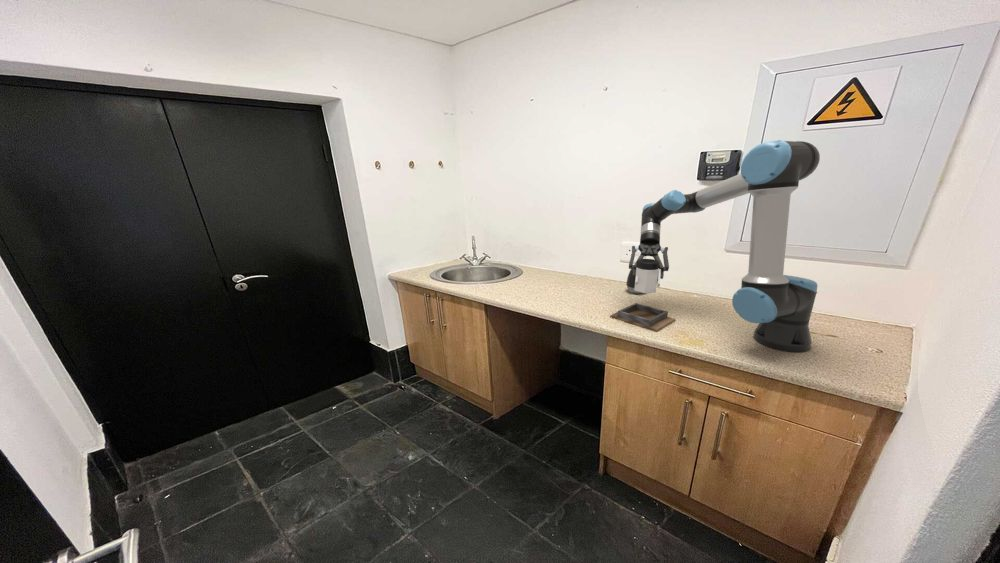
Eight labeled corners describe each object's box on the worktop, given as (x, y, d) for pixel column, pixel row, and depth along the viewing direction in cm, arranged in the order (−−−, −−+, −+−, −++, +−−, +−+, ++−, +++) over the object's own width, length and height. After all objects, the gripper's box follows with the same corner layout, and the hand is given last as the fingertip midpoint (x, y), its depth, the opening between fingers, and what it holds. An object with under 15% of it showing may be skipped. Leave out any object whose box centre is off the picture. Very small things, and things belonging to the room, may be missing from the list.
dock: (675, 321, 134) (676, 313, 133) (656, 332, 125) (657, 323, 124) (629, 308, 149) (630, 301, 148) (610, 317, 140) (610, 309, 139)
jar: (656, 294, 128) (659, 264, 124) (633, 292, 131) (636, 262, 128) (656, 287, 136) (659, 259, 132) (634, 285, 139) (637, 257, 135)
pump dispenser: (648, 295, 164) (651, 266, 160) (625, 294, 168) (628, 265, 163) (646, 289, 173) (649, 261, 169) (625, 288, 177) (627, 260, 173)
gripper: (675, 242, 138) (674, 291, 129) (624, 240, 146) (619, 286, 136) (678, 231, 132) (678, 281, 123) (624, 230, 139) (620, 277, 130)
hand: (647, 284), depth 129 cm, fingers closed on jar, 7 cm apart
